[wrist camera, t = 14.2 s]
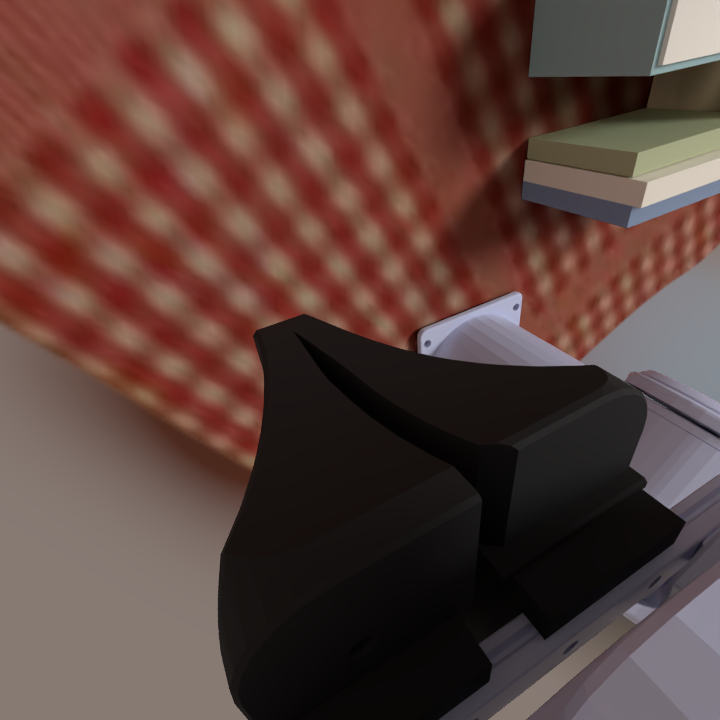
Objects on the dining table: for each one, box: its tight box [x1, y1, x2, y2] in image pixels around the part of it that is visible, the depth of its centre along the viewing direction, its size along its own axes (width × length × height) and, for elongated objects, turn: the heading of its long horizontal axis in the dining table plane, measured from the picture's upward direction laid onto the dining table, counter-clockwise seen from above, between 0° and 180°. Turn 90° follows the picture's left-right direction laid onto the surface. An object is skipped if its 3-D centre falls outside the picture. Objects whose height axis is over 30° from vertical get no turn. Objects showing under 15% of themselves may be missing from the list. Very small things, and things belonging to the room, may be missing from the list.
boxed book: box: [528, 0, 720, 77], centre depth 19 cm, size 4×8×6 cm, turn 97°
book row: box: [521, 108, 720, 228], centre depth 23 cm, size 3×9×7 cm, turn 97°
